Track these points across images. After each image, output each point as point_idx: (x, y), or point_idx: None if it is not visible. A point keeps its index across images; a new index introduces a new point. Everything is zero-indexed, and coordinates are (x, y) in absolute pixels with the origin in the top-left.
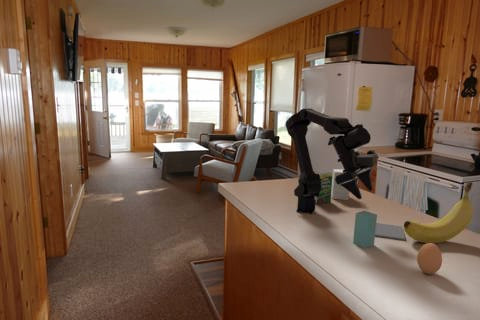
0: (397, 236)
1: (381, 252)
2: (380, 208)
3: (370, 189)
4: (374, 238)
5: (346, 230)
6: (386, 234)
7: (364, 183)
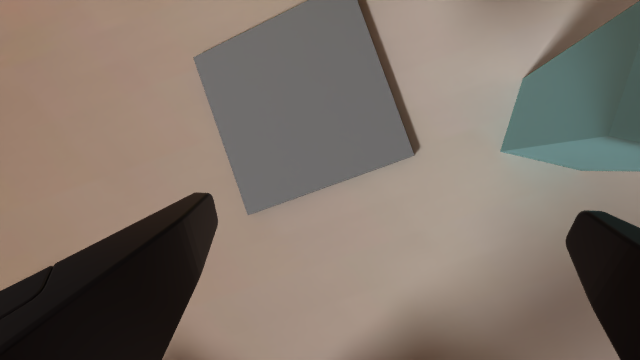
0: (345, 20)
1: (602, 12)
2: (18, 222)
3: (207, 216)
4: (541, 67)
5: (423, 258)
6: (356, 71)
7: (161, 338)
